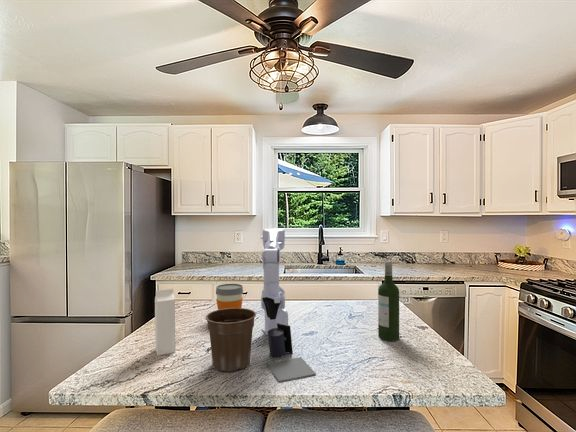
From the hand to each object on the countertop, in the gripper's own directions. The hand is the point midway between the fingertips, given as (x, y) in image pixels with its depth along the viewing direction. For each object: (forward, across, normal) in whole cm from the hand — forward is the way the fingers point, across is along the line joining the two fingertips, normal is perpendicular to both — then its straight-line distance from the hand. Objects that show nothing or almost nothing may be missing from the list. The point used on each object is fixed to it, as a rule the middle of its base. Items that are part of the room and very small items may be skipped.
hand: (271, 318), depth 120 cm
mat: (+11, -19, 0) cm, 22 cm away
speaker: (+11, -8, 0) cm, 13 cm away
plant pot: (+11, -8, +16) cm, 21 cm away
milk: (+11, +10, +37) cm, 40 cm away
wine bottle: (+10, -9, -45) cm, 47 cm away
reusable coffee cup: (+10, +37, +9) cm, 39 cm away
